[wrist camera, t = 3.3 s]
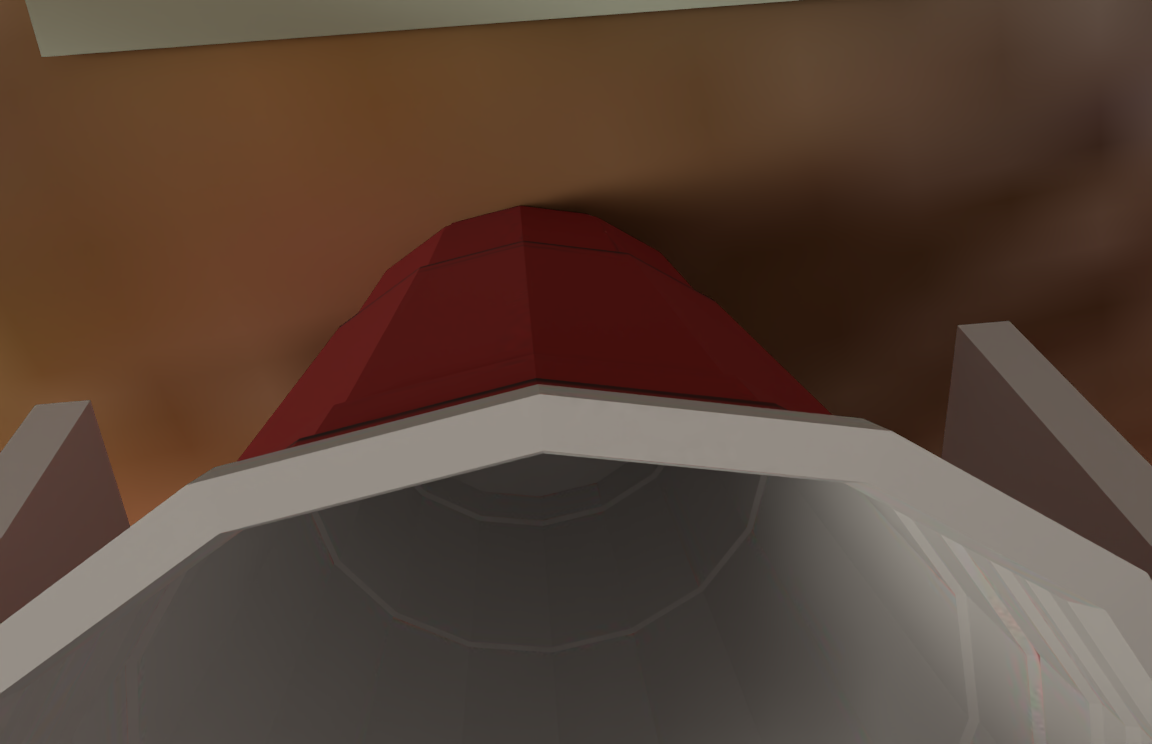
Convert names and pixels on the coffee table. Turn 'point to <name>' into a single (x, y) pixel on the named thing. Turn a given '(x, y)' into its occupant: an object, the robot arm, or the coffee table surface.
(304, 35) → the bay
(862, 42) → the coffee table surface
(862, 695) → the plastic cup
